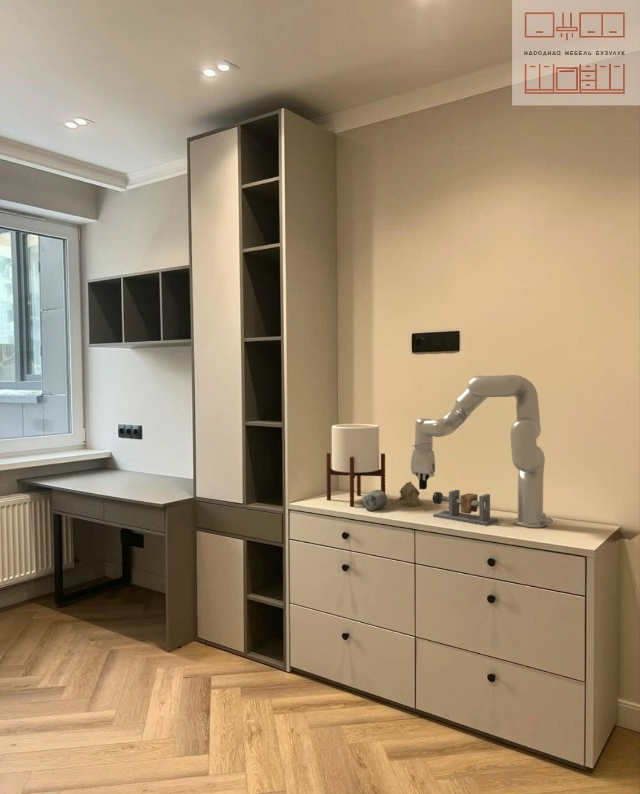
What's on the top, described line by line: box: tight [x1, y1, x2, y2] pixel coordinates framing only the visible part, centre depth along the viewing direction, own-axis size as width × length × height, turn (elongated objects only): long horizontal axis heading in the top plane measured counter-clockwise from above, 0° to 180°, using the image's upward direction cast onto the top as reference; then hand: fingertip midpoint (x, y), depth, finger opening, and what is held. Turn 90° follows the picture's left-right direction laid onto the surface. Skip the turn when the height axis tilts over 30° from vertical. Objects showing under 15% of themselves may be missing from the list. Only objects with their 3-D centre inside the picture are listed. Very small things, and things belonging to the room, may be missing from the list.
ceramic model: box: [397, 481, 422, 507], centre depth 289 cm, size 14×11×10 cm
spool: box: [361, 489, 388, 512], centre depth 276 cm, size 14×10×10 cm
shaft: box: [432, 491, 479, 508], centre depth 258 cm, size 20×5×5 cm, turn 47°
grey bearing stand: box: [432, 489, 498, 527], centre depth 255 cm, size 24×10×11 cm, turn 47°
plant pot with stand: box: [326, 423, 386, 508], centre depth 294 cm, size 22×22×36 cm
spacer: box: [460, 493, 479, 514], centre depth 254 cm, size 4×7×7 cm, turn 137°
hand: (422, 488), depth 269 cm, fingers closed
